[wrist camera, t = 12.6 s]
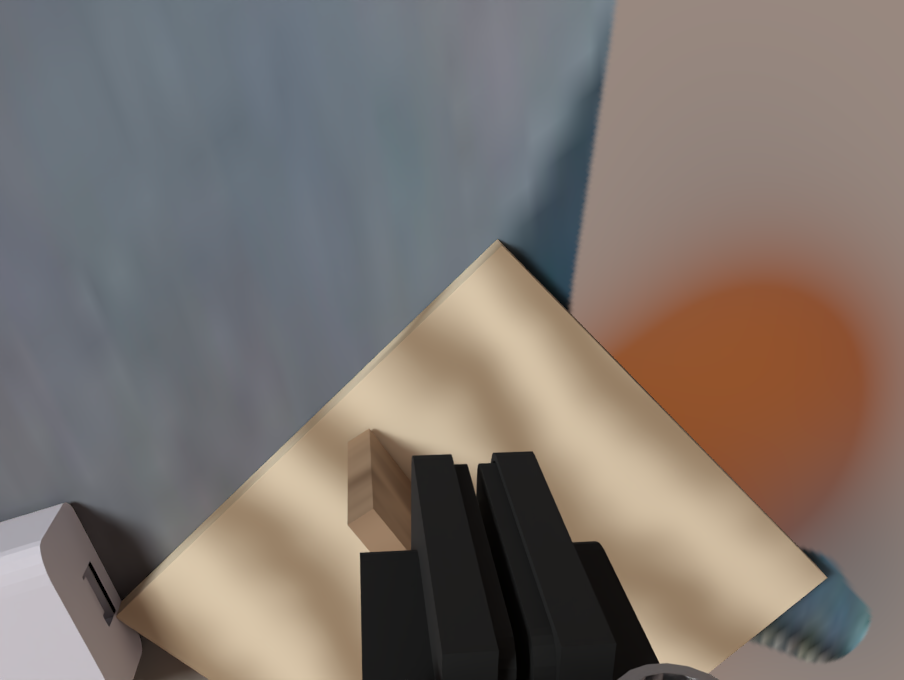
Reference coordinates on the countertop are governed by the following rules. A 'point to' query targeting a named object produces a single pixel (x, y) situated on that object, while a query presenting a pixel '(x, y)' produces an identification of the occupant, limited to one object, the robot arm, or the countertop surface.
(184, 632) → the board
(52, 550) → the charger
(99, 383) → the countertop surface
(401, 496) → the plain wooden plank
